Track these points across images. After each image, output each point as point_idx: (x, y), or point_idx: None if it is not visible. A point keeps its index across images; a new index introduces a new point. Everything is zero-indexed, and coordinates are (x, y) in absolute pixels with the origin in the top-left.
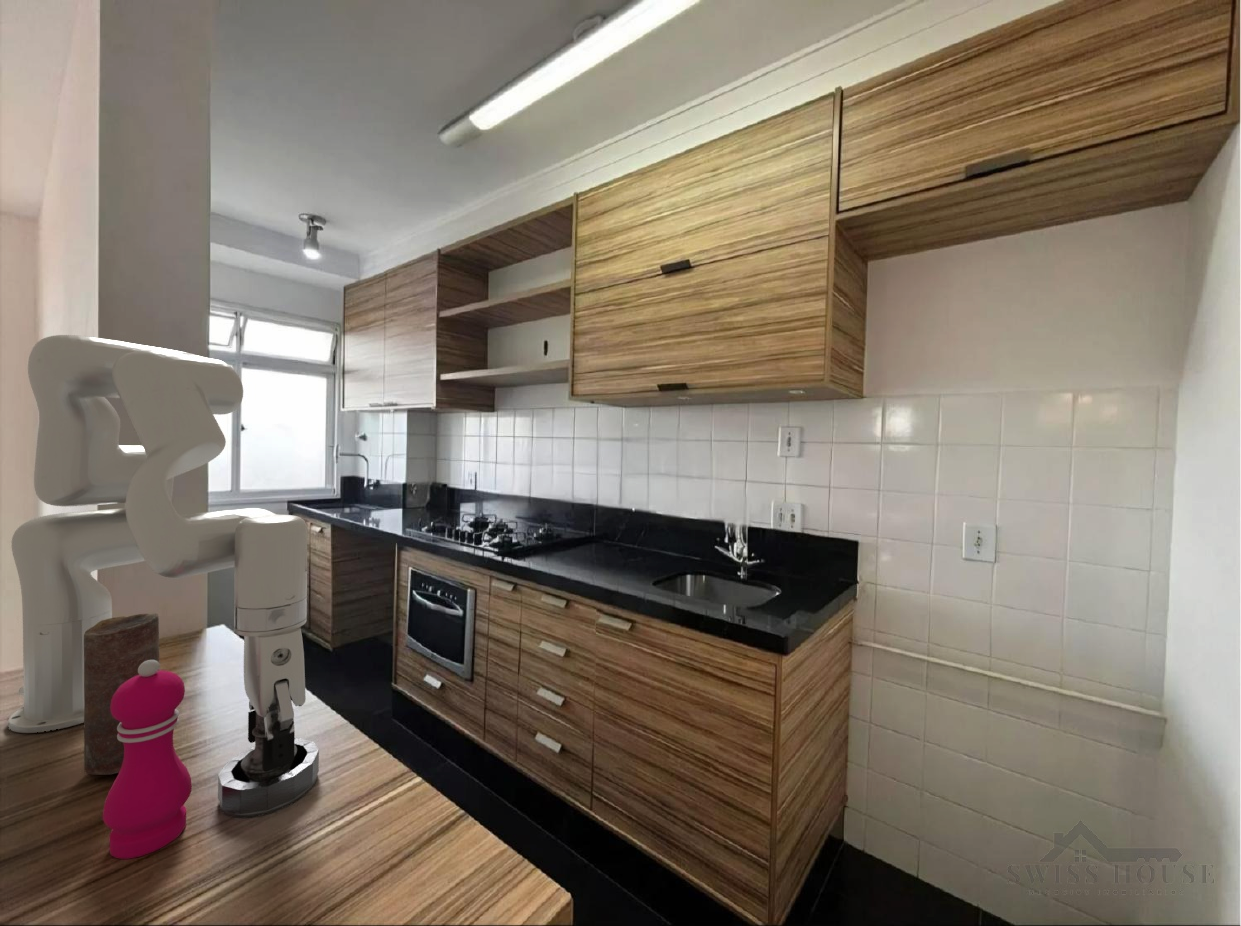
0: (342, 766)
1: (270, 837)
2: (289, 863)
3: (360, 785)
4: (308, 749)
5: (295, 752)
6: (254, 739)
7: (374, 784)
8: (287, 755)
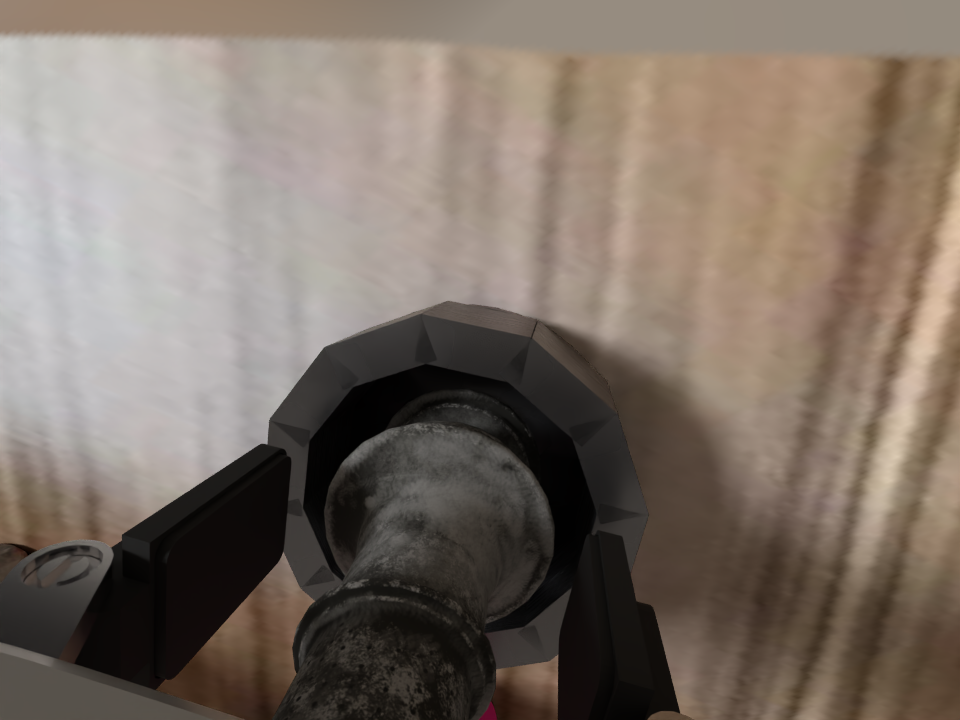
0: (560, 218)
1: (730, 574)
2: (917, 605)
3: (765, 241)
4: (481, 365)
5: (508, 457)
6: (276, 548)
7: (823, 196)
8: (655, 621)
